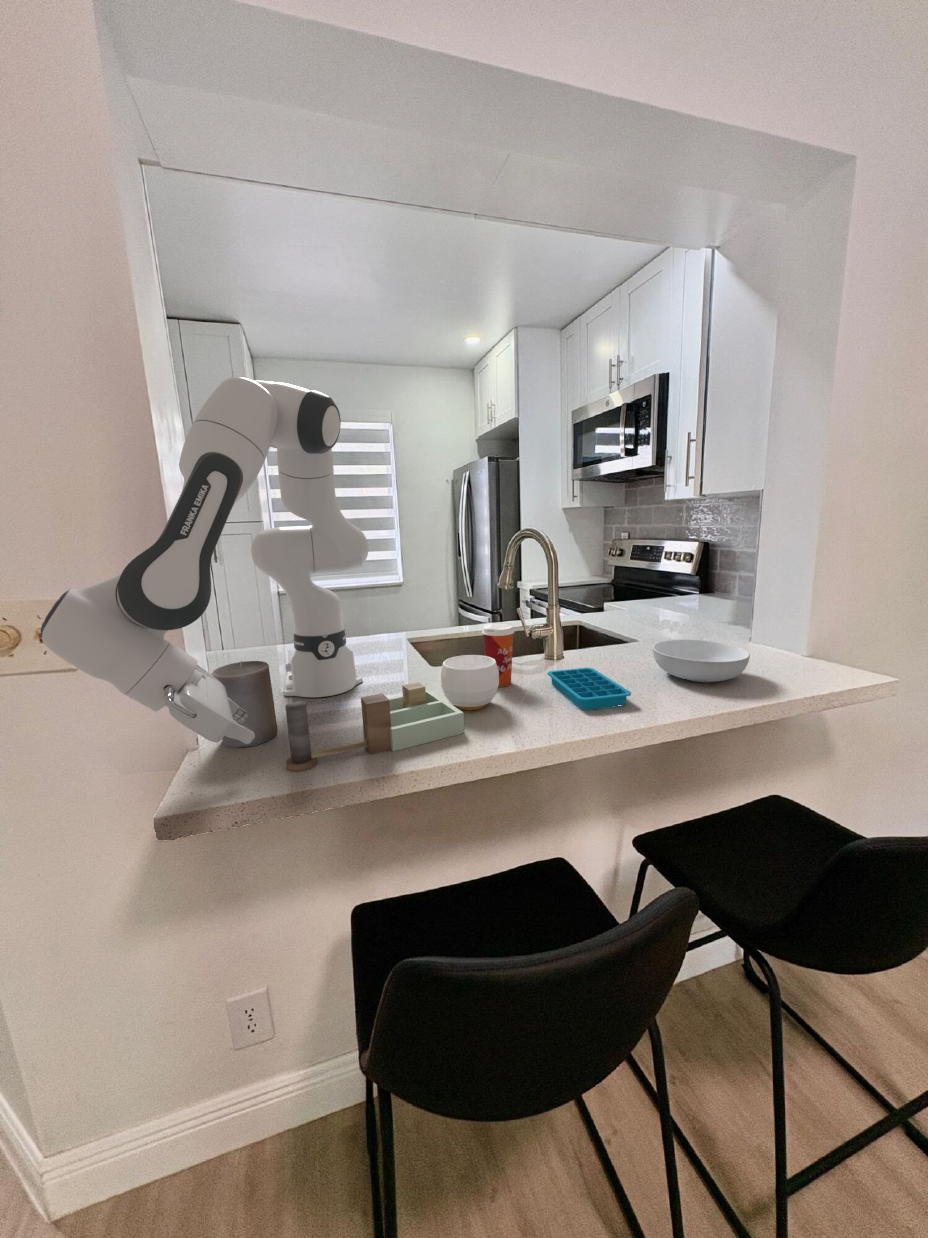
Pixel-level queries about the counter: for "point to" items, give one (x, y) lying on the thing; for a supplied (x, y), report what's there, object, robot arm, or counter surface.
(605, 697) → the ice cube tray
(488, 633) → the paper cup
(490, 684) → the white deep bowl
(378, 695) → the tethered walnut block
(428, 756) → the counter surface
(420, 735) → the lane rack
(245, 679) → the pillar candle
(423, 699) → the oak block
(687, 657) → the serving bowl
